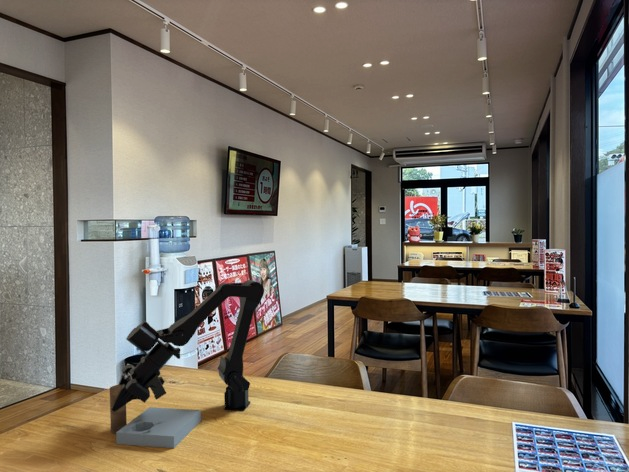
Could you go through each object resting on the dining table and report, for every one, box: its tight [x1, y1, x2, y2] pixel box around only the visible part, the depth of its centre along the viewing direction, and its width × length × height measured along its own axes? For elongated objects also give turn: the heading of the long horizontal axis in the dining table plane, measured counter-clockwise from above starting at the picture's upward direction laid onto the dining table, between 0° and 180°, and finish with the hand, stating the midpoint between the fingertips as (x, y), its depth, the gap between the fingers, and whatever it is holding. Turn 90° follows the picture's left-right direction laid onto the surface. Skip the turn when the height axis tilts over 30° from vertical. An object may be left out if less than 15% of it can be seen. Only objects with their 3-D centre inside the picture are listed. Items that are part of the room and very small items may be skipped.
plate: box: [115, 406, 202, 449], centre depth 119 cm, size 16×16×3 cm
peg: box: [109, 384, 128, 435], centre depth 120 cm, size 4×4×12 cm
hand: (112, 407), depth 120 cm, fingers closed on peg, 4 cm apart
